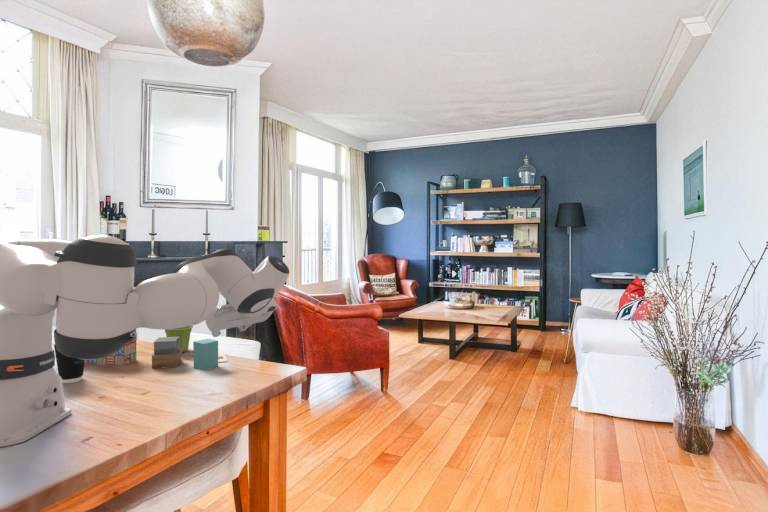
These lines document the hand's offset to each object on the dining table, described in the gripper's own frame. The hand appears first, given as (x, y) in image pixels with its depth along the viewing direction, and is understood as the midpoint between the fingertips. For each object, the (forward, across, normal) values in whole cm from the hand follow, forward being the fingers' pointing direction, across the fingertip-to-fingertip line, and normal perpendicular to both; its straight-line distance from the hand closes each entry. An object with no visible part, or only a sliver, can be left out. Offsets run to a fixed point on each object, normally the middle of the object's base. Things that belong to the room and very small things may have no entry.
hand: (228, 332), depth 133 cm
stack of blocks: (+39, -15, +22) cm, 47 cm away
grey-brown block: (+24, -6, +7) cm, 25 cm away
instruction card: (+19, +6, +3) cm, 20 cm away
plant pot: (+32, +6, +16) cm, 36 cm away
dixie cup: (+29, -29, +12) cm, 43 cm away
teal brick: (+15, 0, -2) cm, 15 cm away
